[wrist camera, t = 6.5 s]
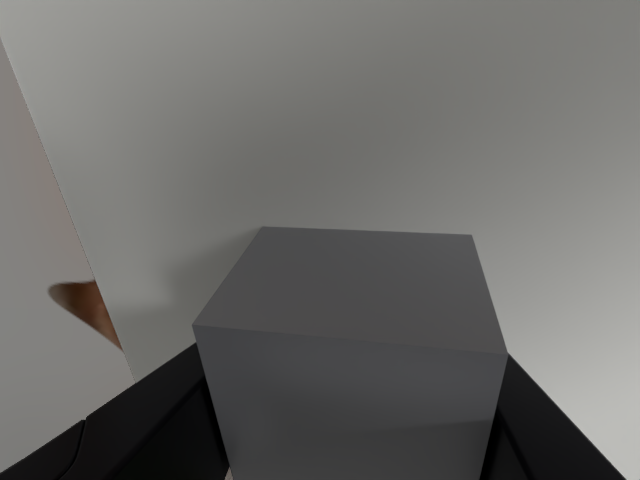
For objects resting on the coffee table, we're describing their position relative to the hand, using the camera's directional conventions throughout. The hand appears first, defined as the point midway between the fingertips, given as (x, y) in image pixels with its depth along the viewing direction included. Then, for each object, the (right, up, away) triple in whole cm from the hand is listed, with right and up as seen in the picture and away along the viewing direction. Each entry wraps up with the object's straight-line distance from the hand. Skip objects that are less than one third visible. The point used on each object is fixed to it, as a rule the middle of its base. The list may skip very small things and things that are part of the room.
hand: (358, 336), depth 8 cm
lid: (0, +1, +1) cm, 2 cm away
